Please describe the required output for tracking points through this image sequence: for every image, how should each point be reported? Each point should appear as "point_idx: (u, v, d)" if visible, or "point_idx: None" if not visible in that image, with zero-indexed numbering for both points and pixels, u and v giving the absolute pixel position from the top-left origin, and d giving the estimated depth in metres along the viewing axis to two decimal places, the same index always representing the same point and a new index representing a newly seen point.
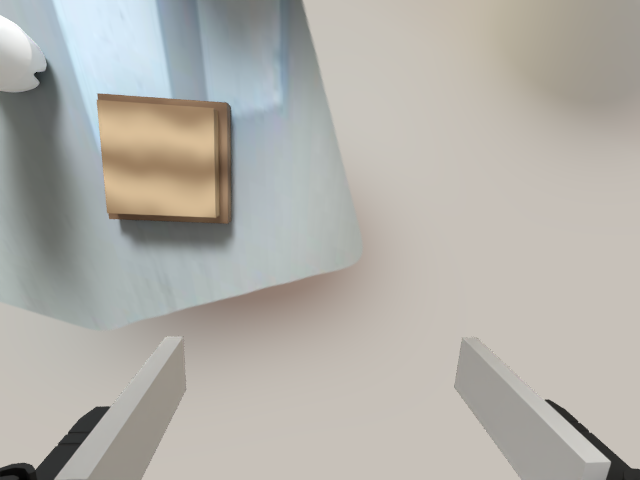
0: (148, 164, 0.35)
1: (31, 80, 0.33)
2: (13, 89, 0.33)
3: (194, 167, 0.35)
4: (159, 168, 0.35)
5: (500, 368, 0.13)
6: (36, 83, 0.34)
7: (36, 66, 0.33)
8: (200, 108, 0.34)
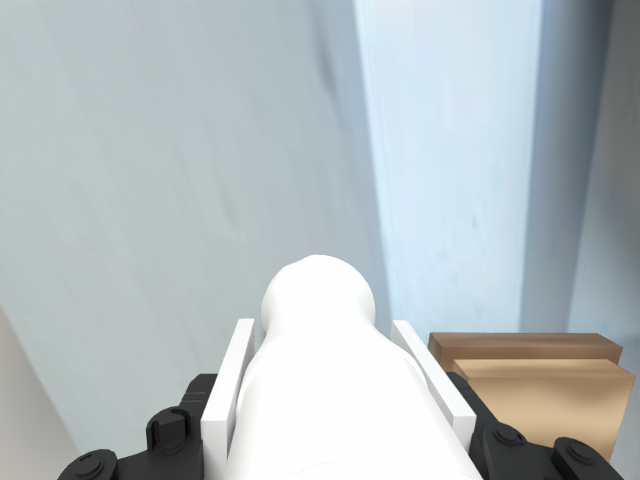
0: None
1: None
2: None
3: None
4: None
5: (415, 345, 0.14)
6: None
7: None
8: (616, 378, 0.21)
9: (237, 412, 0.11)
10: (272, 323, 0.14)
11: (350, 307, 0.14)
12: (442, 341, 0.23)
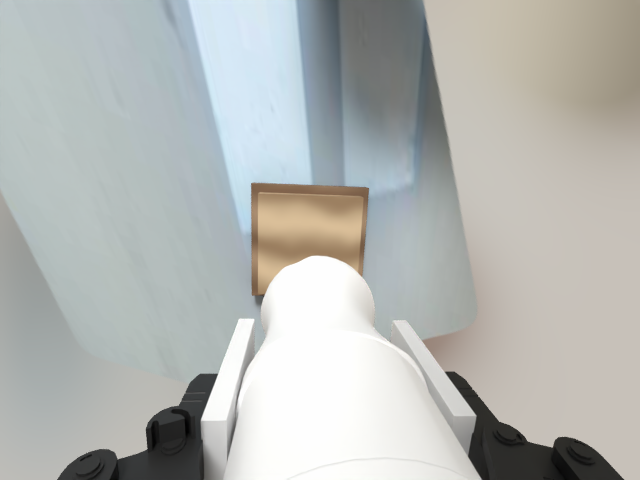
0: (299, 249, 0.37)
1: None
2: None
3: (341, 251, 0.37)
4: (309, 252, 0.37)
5: (415, 345, 0.14)
6: None
7: None
8: (351, 198, 0.36)
9: (237, 413, 0.11)
10: (272, 324, 0.14)
11: (350, 308, 0.14)
12: (255, 183, 0.37)
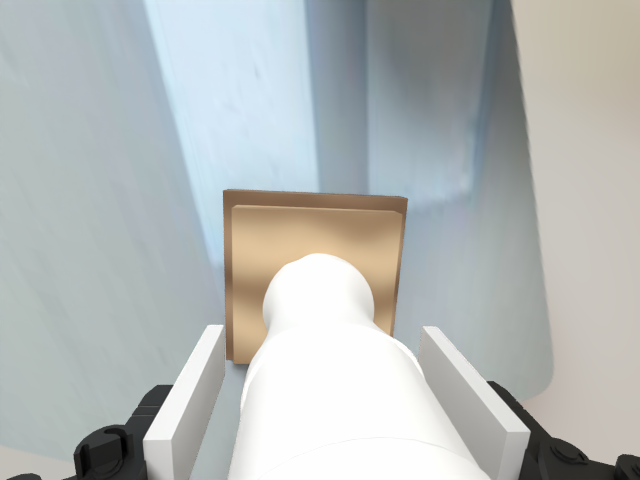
0: None
1: None
2: None
3: None
4: None
5: (451, 353, 0.13)
6: None
7: None
8: (383, 215, 0.22)
9: (242, 403, 0.11)
10: (274, 319, 0.15)
11: (350, 303, 0.14)
12: (230, 190, 0.24)
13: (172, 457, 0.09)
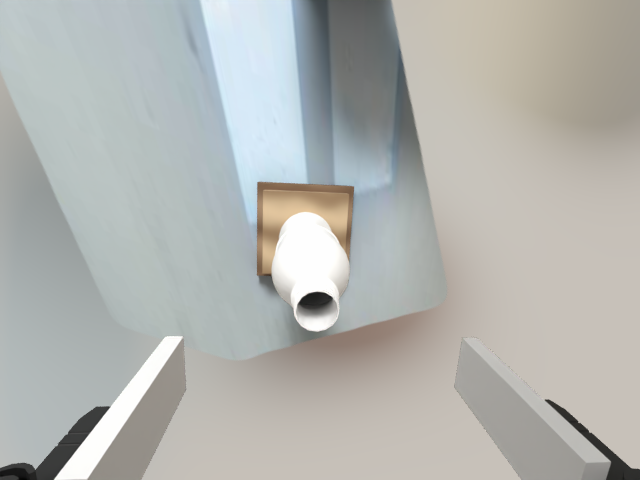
0: None
1: None
2: None
3: None
4: None
5: (500, 368, 0.13)
6: None
7: None
8: (339, 194, 0.44)
9: (275, 252, 0.33)
10: None
11: (316, 224, 0.36)
12: (260, 182, 0.45)
13: None
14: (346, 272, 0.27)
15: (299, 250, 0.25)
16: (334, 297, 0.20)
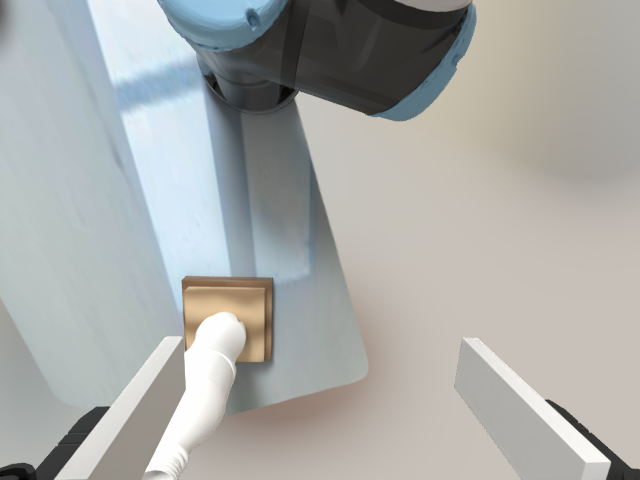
0: None
1: None
2: None
3: (249, 330, 0.49)
4: None
5: (500, 368, 0.13)
6: None
7: (245, 341, 0.47)
8: (255, 293, 0.48)
9: None
10: None
11: (217, 339, 0.40)
12: (185, 278, 0.49)
13: None
14: (214, 415, 0.31)
15: None
16: (170, 473, 0.25)
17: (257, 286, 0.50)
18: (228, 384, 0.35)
